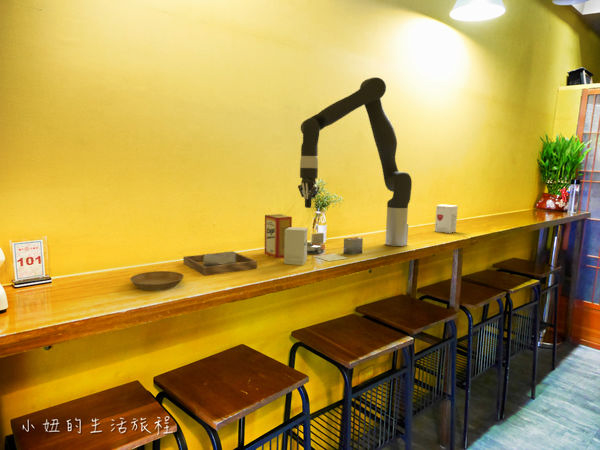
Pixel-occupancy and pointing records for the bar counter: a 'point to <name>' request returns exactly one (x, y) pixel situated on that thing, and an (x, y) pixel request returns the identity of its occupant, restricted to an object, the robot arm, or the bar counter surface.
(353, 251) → the grey rectangular block
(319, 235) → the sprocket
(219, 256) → the stone block
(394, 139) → the robot arm
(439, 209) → the supplement box
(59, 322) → the bar counter surface
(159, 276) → the plant saucer
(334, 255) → the seat tile
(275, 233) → the baking soda box
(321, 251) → the sprocket base
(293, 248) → the supplement box
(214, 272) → the wooden tray
